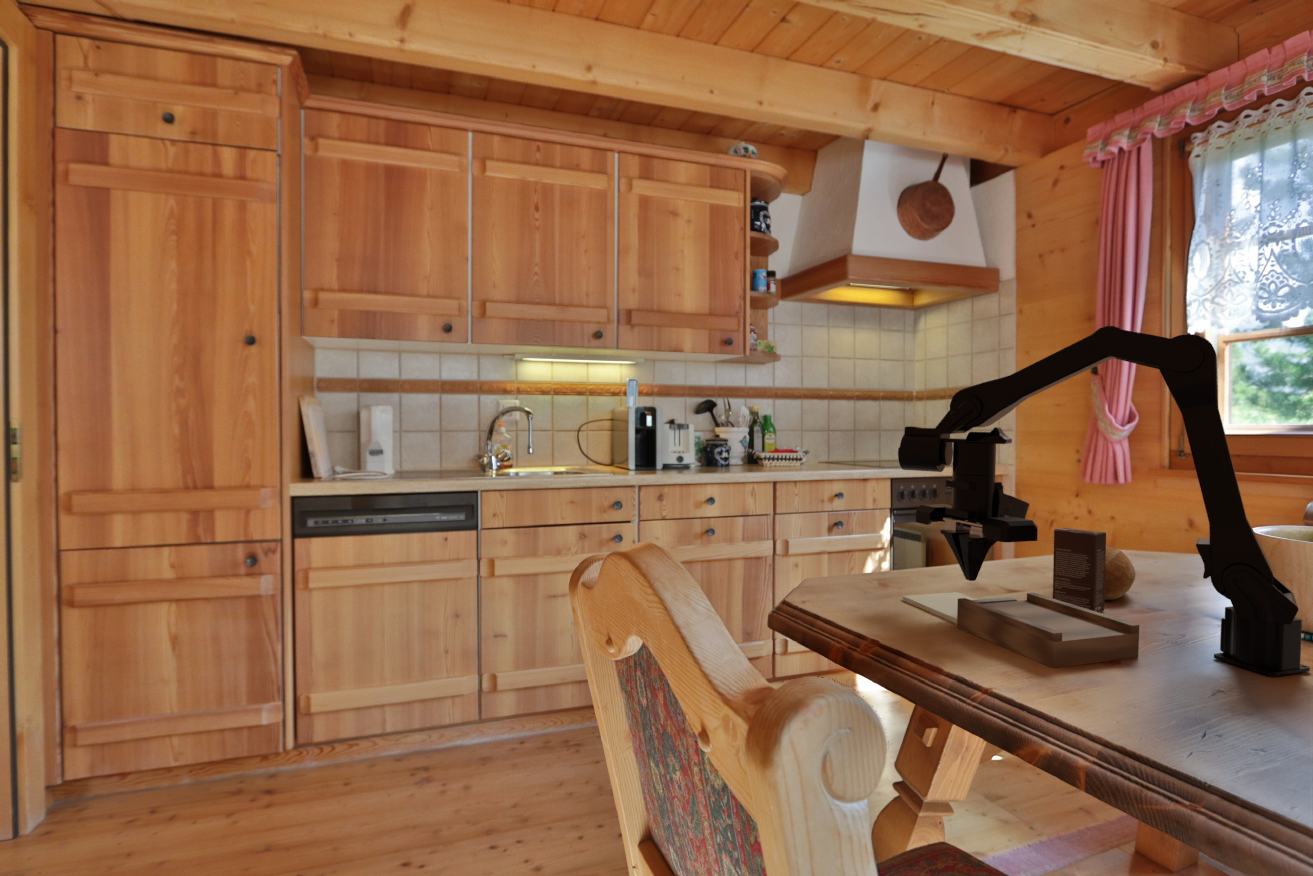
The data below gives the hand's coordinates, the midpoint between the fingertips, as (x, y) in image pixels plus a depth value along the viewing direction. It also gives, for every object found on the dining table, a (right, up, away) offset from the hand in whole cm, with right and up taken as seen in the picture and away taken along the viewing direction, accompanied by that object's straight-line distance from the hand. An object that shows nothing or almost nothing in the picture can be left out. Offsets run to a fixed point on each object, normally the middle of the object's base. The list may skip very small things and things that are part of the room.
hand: (970, 580), depth 104 cm
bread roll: (+27, -5, +14) cm, 31 cm away
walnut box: (+4, -6, -12) cm, 14 cm away
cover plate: (-1, -6, +3) cm, 6 cm away
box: (+18, -5, +4) cm, 19 cm away
